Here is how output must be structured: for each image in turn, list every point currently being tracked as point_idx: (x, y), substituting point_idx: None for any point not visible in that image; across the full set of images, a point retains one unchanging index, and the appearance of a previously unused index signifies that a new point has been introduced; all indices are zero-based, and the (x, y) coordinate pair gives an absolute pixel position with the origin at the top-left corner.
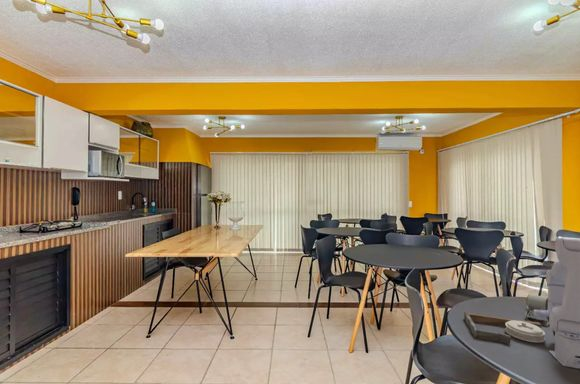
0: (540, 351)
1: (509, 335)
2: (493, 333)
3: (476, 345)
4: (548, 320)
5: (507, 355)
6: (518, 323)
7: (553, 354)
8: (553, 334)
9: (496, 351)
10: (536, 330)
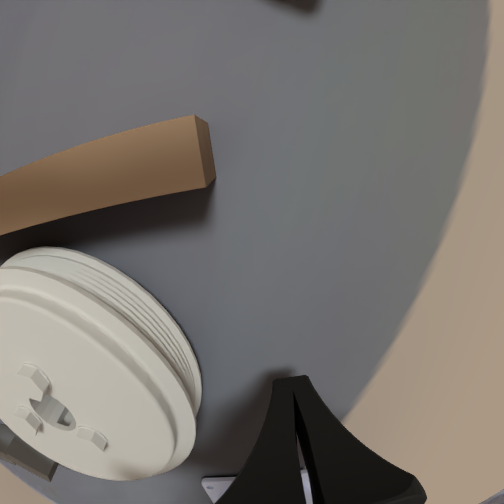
0: (167, 478)
1: (43, 473)
2: (3, 458)
3: (9, 463)
4: (230, 487)
5: (82, 499)
6: (8, 372)
7: (212, 497)
8: (273, 383)
9: (54, 486)
10: (131, 456)
